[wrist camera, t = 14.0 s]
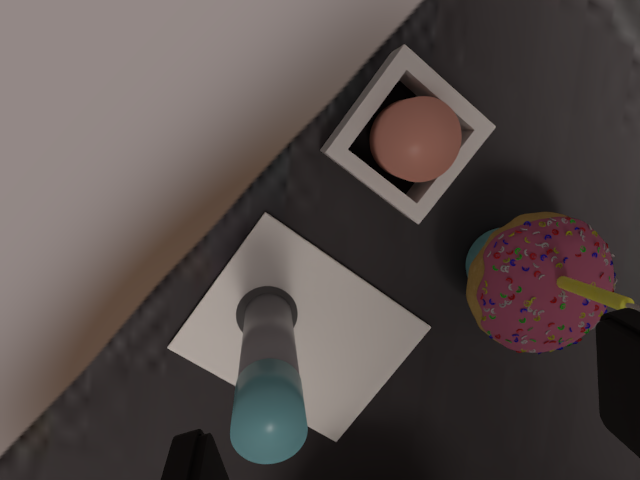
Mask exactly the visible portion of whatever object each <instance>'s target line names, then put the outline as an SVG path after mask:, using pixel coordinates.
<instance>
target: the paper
mask: <svg viewBox="0 0 640 480" xmlns="http://www.w3.org/2000/svg"><path fill="white" fill-rule="evenodd" d="M266 293H272V294H276V295H279V296H281V297H282V298H284V299H285V300H286V301H287V302H288V304H289V306H290V308H291V313H292V321H293V329H294V336H295V344H296V352H297V359H298V367H299V375H300V378H301V382H302V389H303V397H304V404H305V412H306V419H307V426H308V427H310V428H312V429H314V430H315V431H317V432H319V433H321V434H323V435H324V436H326V437H328V438H330V439H331V440H333V441H335V442H337V441H338V439H339V438H340V437H341V436H342V435H343V433H344V432H345V431H346V430H347V429H348V427H349V426H350V425H351V424H352V423H353V421H354V420H355V419H356V418H357V417H358V415H359V414H360V413H361V412H362V411H363V409H364V408H365V407H366V406H367V405H368V403H369V402H370V401H371V400H372V398H373V397H374V396H375V395H376V394H377V392H378V391H379V390H380V389H381V388H382V386H383V385H384V384H385V383H386V382H387V380H388V379H389V378H390V377H391V376H392V374H393V373H394V372H395V371H396V370H397V368H398V367H399V366H400V365H401V364H402V362H403V361H404V360H405V359H406V358H407V356H408V355H409V354H410V353H411V351H412V350H413V349H414V348H415V347H416V345H417V344H418V343H419V342H420V341H421V339H422V338H423V337H424V336H425V335H426V333H427V332H428V331H429V330H430V329H431V327H430V325H428V324H427V323H425V322H424V321H422V320H421V319H419V318H418V317H417V316H415V315H414V314H412V313H411V312H409V311H408V310H406V309H405V308H404V307H402V306H401V305H399V304H398V303H396V302H395V301H393V300H392V299H391V298H389V297H388V296H386V295H385V294H383V293H382V292H380V291H379V290H378V289H376V288H375V287H373V286H372V285H370V284H369V283H367V282H366V281H365V280H363V279H362V278H360V277H359V276H357V275H356V274H354V273H353V272H352V271H350V270H349V269H347V268H346V267H344V266H343V265H341V264H340V263H339V262H337V261H336V260H334V259H333V258H331V257H330V256H329V255H327V254H326V253H324V252H323V251H321V250H320V249H318V248H317V247H316V246H314V245H313V244H311V243H310V242H308V241H307V240H305V239H304V238H303V237H301V236H300V235H298V234H297V233H295V232H294V231H292V230H291V229H290V228H288V227H287V226H285V225H284V224H282V223H281V222H279V221H278V220H277V219H275V218H274V217H272V216H271V215H269V214H268V213H266V212H265V213H264V214H263V215H262V217H261V218H260V220H259V221H258V222H257V224H256V225H255V227H254V228H253V229H252V231H251V232H250V233H249V235H248V236H247V238H246V239H245V240H244V242H243V243H242V244H241V246H240V247H239V249H238V250H237V251H236V253H235V254H234V256H233V257H232V258H231V260H230V261H229V262H228V264H227V265H226V267H225V268H224V269H223V271H222V272H221V274H220V275H219V276H218V278H217V279H216V280H215V282H214V283H213V285H212V286H211V287H210V289H209V290H208V292H207V293H206V294H205V296H204V297H203V298H202V300H201V301H200V303H199V304H198V305H197V307H196V308H195V309H194V311H193V312H192V314H191V315H190V316H189V318H188V319H187V321H186V322H185V323H184V325H183V326H182V327H181V329H180V330H179V332H178V333H177V334H176V336H175V337H174V339H173V340H172V341H171V343H170V344H169V345H168V347H167V348H168V349H170V350H171V351H173V352H175V353H177V354H179V355H180V356H182V357H184V358H186V359H188V360H189V361H191V362H193V363H195V364H197V365H198V366H200V367H202V368H204V369H206V370H207V371H209V372H211V373H213V374H215V375H216V376H218V377H220V378H222V379H224V380H225V381H227V382H229V383H231V384H233V385H234V386H236V382H237V379H238V371H239V362H240V354H241V345H242V336H243V328H244V319H245V311H246V308H247V306H248V304H249V303H250V301H251V300H252V299H254V298H255V297H257V296H259V295H261V294H266Z"/></svg>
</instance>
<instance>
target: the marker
mask: <svg viewBox="0 0 640 480" xmlns="http://www.w3.org/2000/svg"><path fill="white" fill-rule="evenodd" d="M307 431H308V427H307V419H306V412H305V404H304V397H303V389H302V382H301V378H300V375H299V367H298V359H297V352H296V344H295V336H294V329H293V321H292V313H291V308H290V306H289V304H288V302H287V301H286V300H285V299H284V298H282V297H281V296H279V295H276V294H272V293H266V294H261V295H259V296H257V297H255V298H254V299H252V300H251V301H250V303H249V304H248V306H247V308H246V311H245V319H244V328H243V336H242V345H241V354H240V362H239V371H238V379H237V382H236V387H235V395H234V403H233V412H232V420H231V428H230V438H231V442H232V445H233V447H234V449H235V450H236V451H237V452H238V453H239V455H241V456H242V457H243V458H245V459H247V460H249V461H251V462H254V463H259V464H274V463H278V462H282V461H284V460H286V459H288V458H290V457H292V456H293V455H294V454H296V453H297V452H298V451H299V450H300V448H301V447H302V446H303V444H304V442H305V440H306V437H307Z"/></svg>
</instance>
